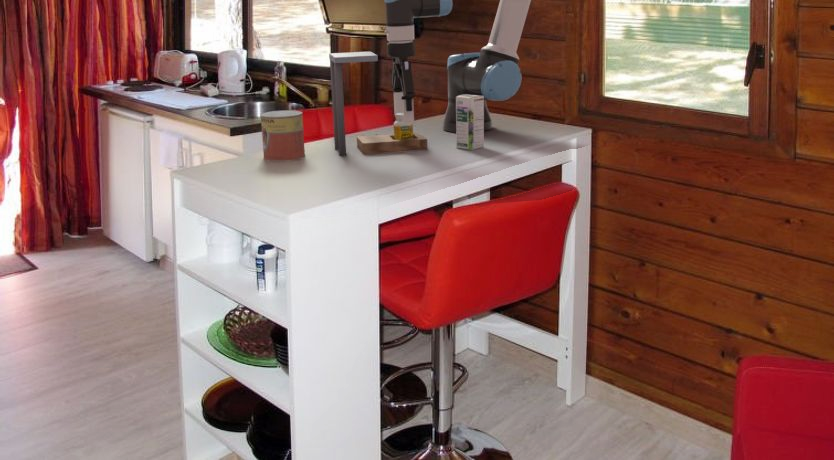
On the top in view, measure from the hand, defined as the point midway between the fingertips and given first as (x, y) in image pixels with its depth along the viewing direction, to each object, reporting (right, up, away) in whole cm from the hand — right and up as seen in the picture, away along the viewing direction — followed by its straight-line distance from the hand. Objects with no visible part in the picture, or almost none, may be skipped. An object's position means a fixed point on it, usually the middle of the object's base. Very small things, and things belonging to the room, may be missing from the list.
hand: (404, 119), depth 259 cm
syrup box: (+18, -8, -1) cm, 20 cm away
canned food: (-33, -11, -6) cm, 35 cm away
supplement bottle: (0, -8, +2) cm, 8 cm away
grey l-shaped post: (-13, -9, 0) cm, 16 cm away
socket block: (-3, -8, +1) cm, 9 cm away
